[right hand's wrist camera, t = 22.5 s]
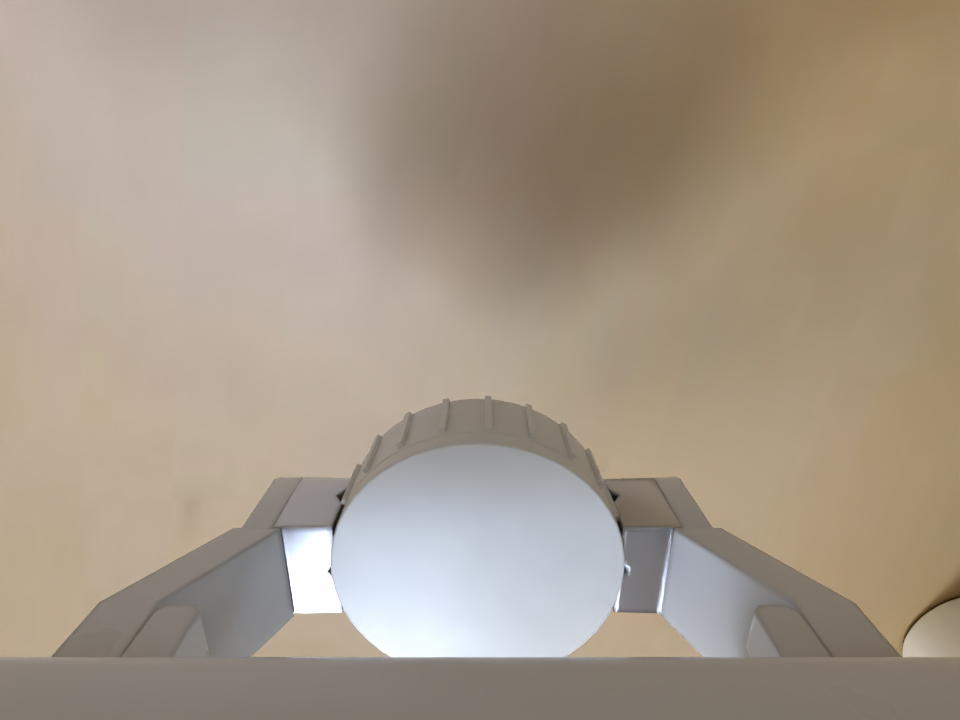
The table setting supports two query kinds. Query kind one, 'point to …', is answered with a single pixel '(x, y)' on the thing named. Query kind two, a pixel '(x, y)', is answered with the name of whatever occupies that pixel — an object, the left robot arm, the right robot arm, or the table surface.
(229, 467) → the table surface
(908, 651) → the bottle
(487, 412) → the lid
